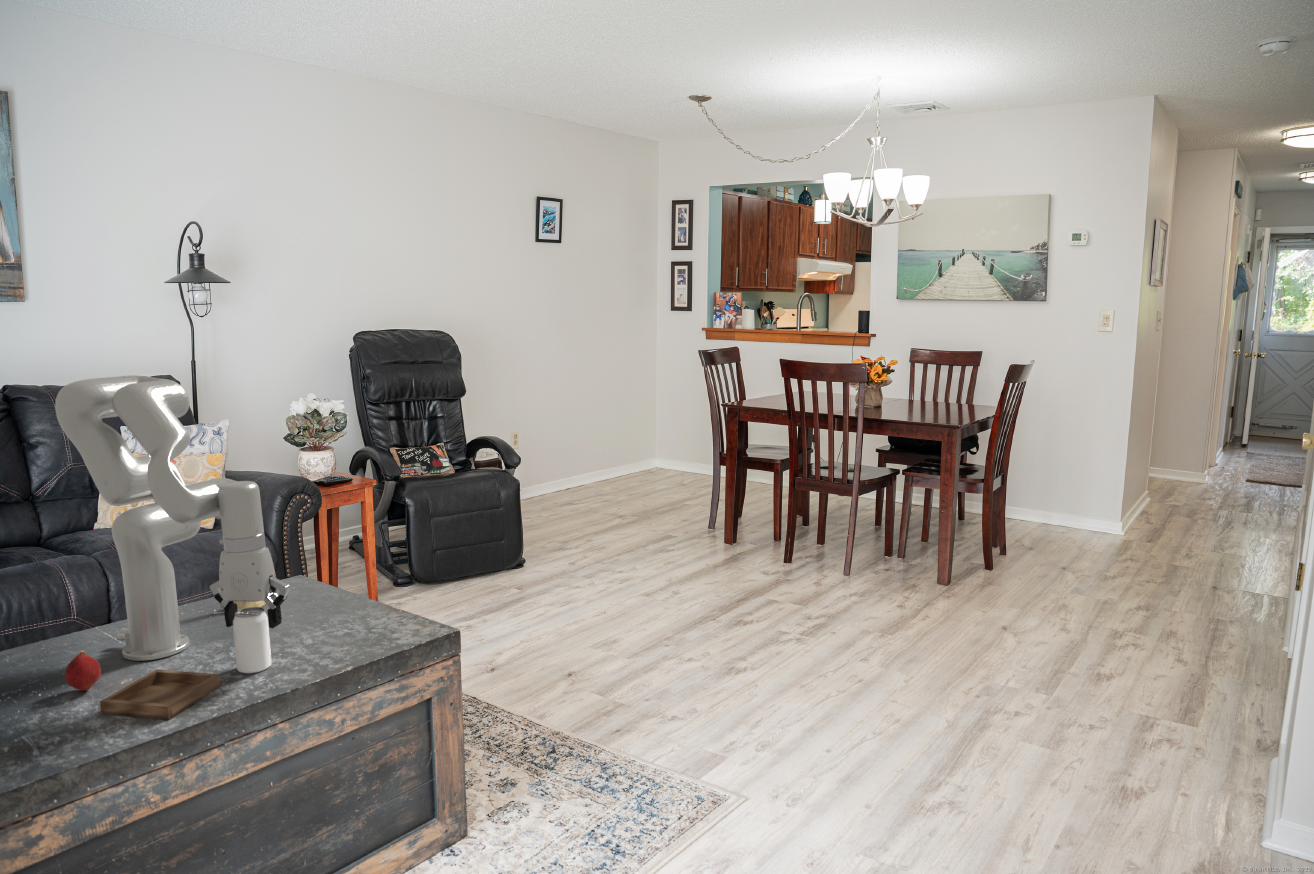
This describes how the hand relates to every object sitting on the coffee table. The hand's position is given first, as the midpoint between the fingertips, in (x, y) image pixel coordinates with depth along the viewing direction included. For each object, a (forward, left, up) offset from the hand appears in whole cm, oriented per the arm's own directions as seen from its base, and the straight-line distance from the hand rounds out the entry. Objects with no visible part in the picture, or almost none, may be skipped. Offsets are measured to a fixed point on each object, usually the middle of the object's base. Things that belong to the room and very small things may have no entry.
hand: (254, 625), depth 178 cm
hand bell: (-26, +33, -10) cm, 43 cm away
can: (-1, 0, -9) cm, 9 cm away
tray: (-9, -16, -9) cm, 20 cm away
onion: (-27, -15, -9) cm, 32 cm away
